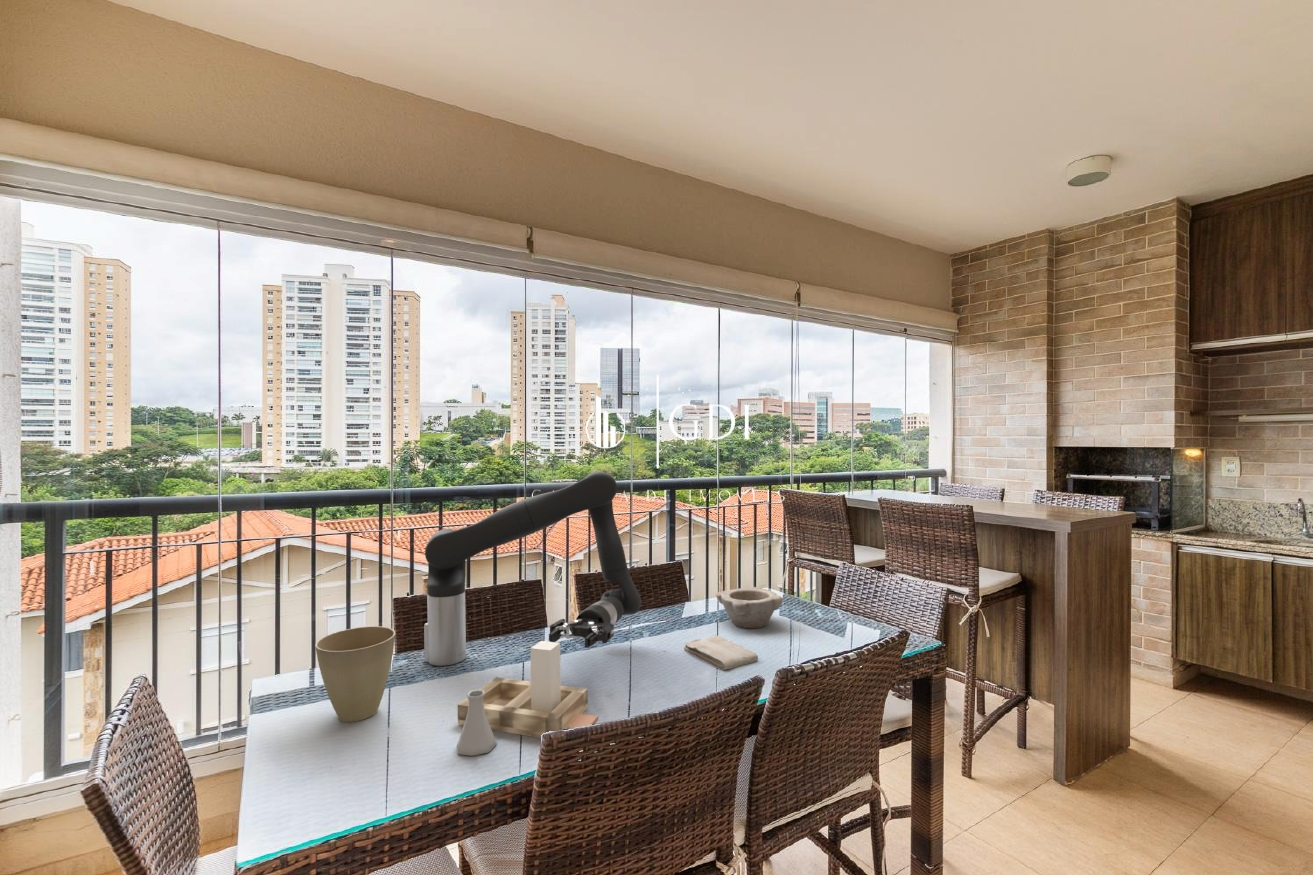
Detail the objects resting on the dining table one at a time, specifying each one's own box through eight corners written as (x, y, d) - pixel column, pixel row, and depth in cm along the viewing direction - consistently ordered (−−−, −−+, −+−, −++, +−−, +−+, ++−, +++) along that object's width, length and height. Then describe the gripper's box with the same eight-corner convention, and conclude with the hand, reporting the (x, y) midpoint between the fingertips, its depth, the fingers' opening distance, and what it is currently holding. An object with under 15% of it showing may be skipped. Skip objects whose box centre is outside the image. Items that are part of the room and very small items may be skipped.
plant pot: (341, 697, 133) (341, 625, 133) (408, 698, 132) (407, 626, 132) (299, 731, 118) (298, 650, 118) (374, 732, 117) (373, 650, 117)
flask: (461, 737, 115) (460, 685, 115) (499, 735, 116) (499, 684, 115) (451, 758, 108) (451, 702, 108) (492, 756, 108) (492, 700, 108)
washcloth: (715, 642, 167) (715, 631, 167) (760, 662, 152) (760, 650, 152) (680, 651, 161) (680, 640, 160) (724, 673, 146) (724, 660, 146)
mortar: (713, 618, 187) (712, 589, 187) (762, 613, 192) (762, 584, 192) (734, 635, 171) (734, 603, 171) (788, 629, 176) (787, 598, 176)
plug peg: (531, 717, 121) (530, 648, 120) (541, 708, 125) (540, 640, 125) (551, 720, 119) (550, 650, 119) (560, 710, 124) (560, 642, 123)
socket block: (457, 724, 120) (457, 704, 120) (496, 695, 134) (496, 677, 133) (576, 743, 112) (576, 721, 112) (605, 710, 126) (605, 691, 126)
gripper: (571, 601, 150) (539, 620, 135) (624, 606, 146) (598, 627, 130) (570, 631, 150) (539, 654, 135) (624, 637, 146) (598, 661, 130)
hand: (568, 641), depth 132 cm, fingers open, 8 cm apart
